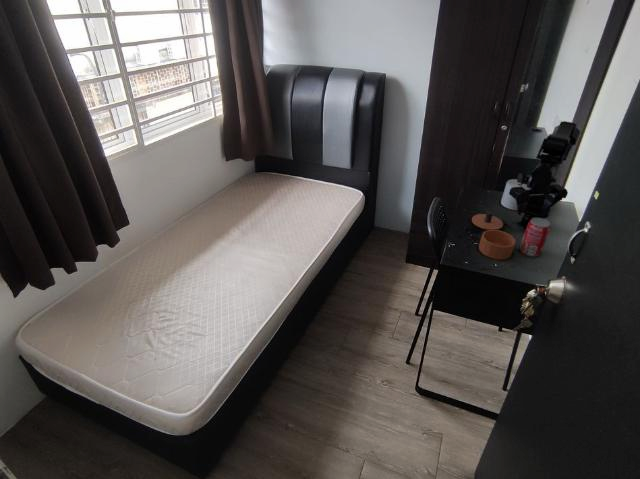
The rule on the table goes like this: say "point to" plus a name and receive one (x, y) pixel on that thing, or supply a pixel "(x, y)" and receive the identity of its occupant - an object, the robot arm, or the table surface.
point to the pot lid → (487, 221)
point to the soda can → (535, 237)
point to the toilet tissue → (507, 198)
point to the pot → (497, 244)
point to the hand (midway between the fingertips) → (530, 213)
